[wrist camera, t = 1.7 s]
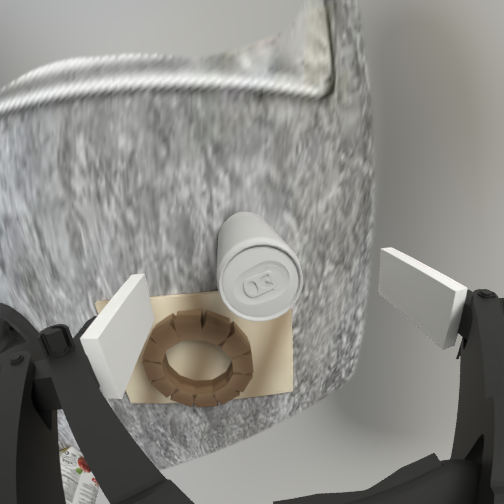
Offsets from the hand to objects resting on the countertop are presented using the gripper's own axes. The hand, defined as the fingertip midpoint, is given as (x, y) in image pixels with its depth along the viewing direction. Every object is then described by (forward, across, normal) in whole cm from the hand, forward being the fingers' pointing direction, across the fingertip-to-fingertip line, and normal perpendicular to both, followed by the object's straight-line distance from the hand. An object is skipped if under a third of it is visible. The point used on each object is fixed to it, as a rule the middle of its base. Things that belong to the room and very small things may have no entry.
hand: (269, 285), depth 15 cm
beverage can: (+12, -1, 0) cm, 12 cm away
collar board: (+12, -7, -12) cm, 18 cm away
